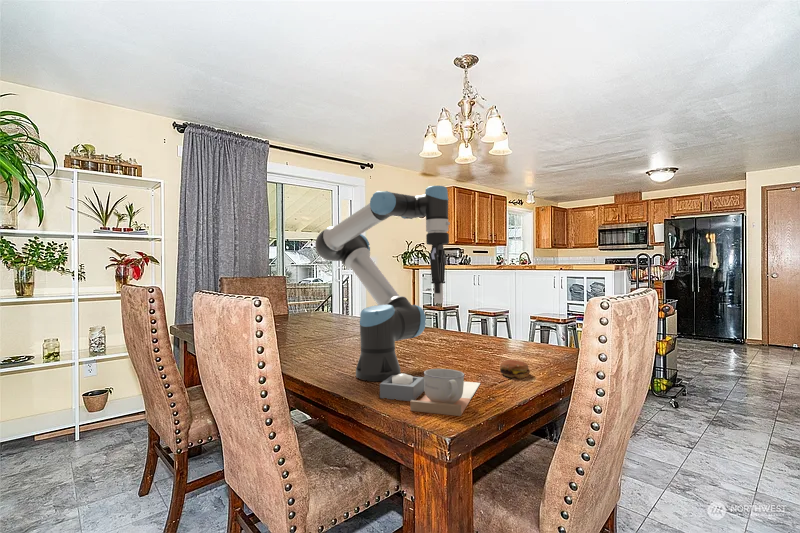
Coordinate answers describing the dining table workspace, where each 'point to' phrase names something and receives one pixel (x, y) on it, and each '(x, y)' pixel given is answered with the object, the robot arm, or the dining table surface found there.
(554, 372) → the dining table surface
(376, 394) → the dining table surface
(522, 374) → the burger
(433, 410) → the board
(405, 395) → the grey square tray
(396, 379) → the white faceted ball
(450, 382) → the teacup
